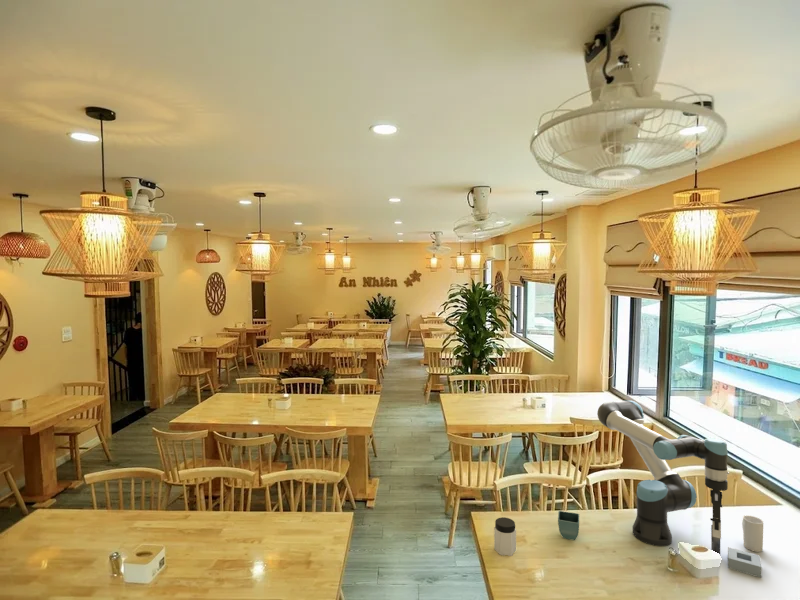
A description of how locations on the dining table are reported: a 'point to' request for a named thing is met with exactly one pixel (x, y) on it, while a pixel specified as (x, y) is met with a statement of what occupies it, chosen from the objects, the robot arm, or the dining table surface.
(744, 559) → the socket block
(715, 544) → the peg
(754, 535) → the beige oval cylinder
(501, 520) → the jar
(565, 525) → the flower pot
